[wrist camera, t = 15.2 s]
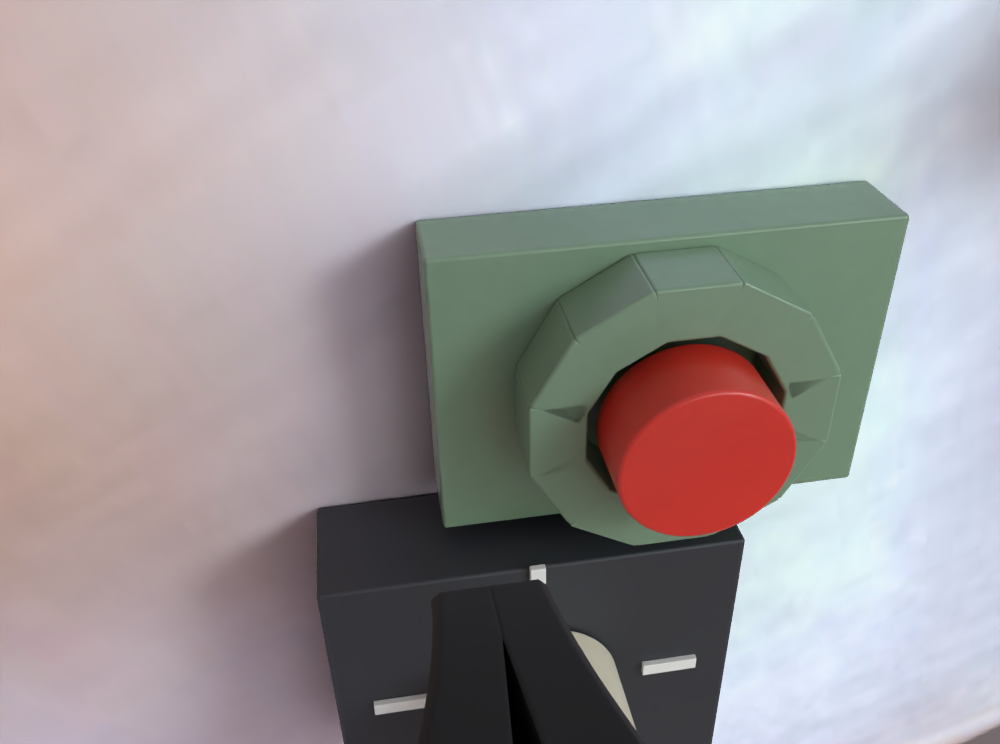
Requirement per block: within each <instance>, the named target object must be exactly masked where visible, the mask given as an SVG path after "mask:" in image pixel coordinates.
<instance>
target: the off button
mask: <svg viewBox="0 0 1000 744" xmlns="http://www.w3.org/2000/svg"><path fill="white" fill-rule="evenodd" d="M596 429H597V440H598V445H599V448H600V451H601V453H602V456H603V458H604V461H605V463H606V466H607V468H608V471H609V473H610V476H611V478H612V481H613V483H614V486H615V488H616V491H617V493H618V496H619V498H620V501H621V503H622V505H623V507H624V508H625V510H626V511H627V512H628V514H629V515H630V516H631V517H632V518H633V519H635V520H636V521H637V522H638V523H640V524H641V525H643V526H645V527H646V528H648V529H650V530H653V531H655V532H658V533H662V534H666V535H671V536H687V537H689V536H700V535H706V534H711V533H714V532H718V531H722V530H724V529H727V528H729V527H732V526H734V525H736V524H738V523H740V522H742V521H744V520H746V519H747V518H749V517H751V516H752V515H754V514H755V513H757V512H758V511H759V510H761V509H762V508H763V507H764V506H765V505H766V504H768V503H769V502H770V501H771V500H772V499H773V498H774V496H775V495H776V494H777V493H778V492H779V491H780V489H781V488H782V486H783V485H784V483H785V482H786V480H787V478H788V477H789V475H790V472H791V470H792V467H793V464H794V460H795V456H796V435H795V431H794V427H793V425H792V422H791V420H790V418H789V417H788V415H787V414H786V412H785V411H784V410H783V408H782V407H781V405H780V404H779V402H778V401H777V399H776V398H775V397H774V395H773V394H772V392H771V391H770V389H769V388H768V386H767V385H766V384H765V382H764V381H763V379H762V378H761V376H760V375H759V373H758V372H757V371H756V369H755V368H754V366H753V365H752V364H751V363H750V362H749V361H748V360H746V359H745V358H744V357H742V356H741V355H739V354H738V353H736V352H734V351H732V350H729V349H726V348H723V347H720V346H715V345H710V344H686V345H680V346H675V347H671V348H668V349H664V350H662V351H659V352H657V353H654V354H652V355H650V356H648V357H646V358H644V359H643V360H641V361H640V362H638V363H637V364H635V365H634V366H632V367H631V368H630V369H629V370H628V371H626V372H625V373H624V374H623V375H622V376H621V377H620V378H619V379H618V380H617V381H616V383H615V384H614V385H613V386H612V388H611V389H610V390H609V392H608V394H607V396H606V397H605V399H604V401H603V404H602V406H601V408H600V412H599V416H598V420H597V428H596Z"/></svg>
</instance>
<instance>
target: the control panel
mask: <svg viewBox="0 0 1000 744" xmlns="http://www.w3.org/2000/svg"><path fill="white" fill-rule="evenodd" d="M744 541H745V540H744V538H743V536H742V534H741V532H740V530H739V528H738V526H737V525H734V526H732V527H729V528H727V529H724V530H722V531H719V532H717V533H715V534H713V535H709V536H706V537H698V538H691V539H683V540H676V541H668V542H661V543H653V544H645V545H635V546H633V545H630V544H626V543H623V542H620V541H617V540H614V539H610V538H607V537H604V536H601V535H598V534H594V533H591V532H588V531H585V530H581V529H578V528H575V527H572V526H571V525H570V523H568V522H567V521H566V520H565V519H564V517H563V516H562V515H561V514H552V515H544V516H536V517H528V518H520V519H512V520H505V521H497V522H489V523H481V524H473V525H465V526H457V527H449V528H446V527H444V525H443V521H442V515H441V509H440V502H439V496H438V494H436V495H428V496H419V497H411V498H403V499H395V500H387V501H379V502H370V503H362V504H354V505H346V506H338V507H330V508H321V509H318V511H317V602H318V607H319V612H320V618H321V623H322V628H323V634H324V639H325V644H326V650H327V655H328V660H329V666H330V671H331V676H332V682H333V687H334V692H335V698H336V703H337V709H338V714H339V719H340V725H341V730H342V735H343V741H344V744H418V741H419V735H420V730H421V724H422V718H423V713H424V707H425V702H426V696H427V688H428V680H429V672H430V664H431V652H432V608H431V600H432V599H433V598H434V597H435V596H436V595H438V594H439V593H440V592H447V591H455V590H462V589H470V588H477V587H484V586H492V585H499V584H507V583H514V582H522V581H529V580H536V579H539V580H540V581H542V582H543V583H545V584H546V585H547V586H548V588H549V590H550V592H551V594H552V597H553V599H554V601H555V603H556V605H557V606H558V608H559V610H560V612H561V614H562V616H563V618H564V620H565V621H566V623H567V625H568V627H569V629H570V630H571V631H574V632H578V633H582V634H585V635H587V636H589V637H592V638H593V639H595V640H597V641H598V642H600V643H601V644H602V645H603V646H604V647H605V648H606V649H607V650H608V651H609V653H610V654H611V656H612V658H613V659H614V662H615V665H616V668H617V672H618V675H619V678H620V681H621V684H622V687H623V690H624V693H625V697H626V700H627V703H628V706H629V709H630V712H631V715H632V718H633V721H634V725H635V728H636V731H637V732H638V734H639V735H640V736H641V738H642V739H643V740H644V742H645V743H646V744H711V743H712V737H713V731H714V725H715V719H716V713H717V707H718V701H719V694H720V688H721V682H722V676H723V670H724V664H725V658H726V652H727V646H728V640H729V633H730V627H731V621H732V615H733V609H734V603H735V597H736V591H737V585H738V578H739V572H740V566H741V560H742V554H743V548H744Z"/></svg>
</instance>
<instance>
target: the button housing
mask: <svg viewBox="0 0 1000 744" xmlns="http://www.w3.org/2000/svg"><path fill="white" fill-rule="evenodd" d="M908 220H909V216H908V214H907V213H906V212H904V211H903V210H902V209H901V208H899V207H898V206H897V205H896V204H895V203H893V202H892V201H891V200H890V199H888V198H887V197H886V196H885V195H883V194H882V193H881V192H880V191H878V190H877V189H876V188H875V187H874V186H872V185H871V184H870V183H869V182H866V181H861V182H849V183H838V184H827V185H815V186H804V187H793V188H781V189H770V190H759V191H748V192H736V193H725V194H714V195H702V196H691V197H680V198H668V199H657V200H646V201H634V202H623V203H612V204H600V205H589V206H578V207H566V208H555V209H544V210H532V211H521V212H510V213H498V214H487V215H476V216H464V217H453V218H442V219H430V220H419V221H417V222H416V225H415V226H416V238H417V251H418V263H419V276H420V289H421V301H422V314H423V326H424V339H425V352H426V364H427V377H428V389H429V402H430V414H431V427H432V440H433V452H434V465H435V477H436V484H437V490H438V496H439V502H440V509H441V515H442V521H443V525H444V527H446V528H449V527H457V526H465V525H473V524H481V523H489V522H497V521H505V520H512V519H520V518H528V517H536V516H544V515H552V514H561V515H562V516H563V517H564V519H565V520H566V521H567V522H568V523H570V525H571V526H572V527H575V528H578V529H581V530H585V531H588V532H591V533H594V534H598V535H601V536H604V537H607V538H610V539H614V540H617V541H620V542H623V543H626V544H630V545H633V546H635V545H645V544H653V543H661V542H668V541H676V540H683V539H691V538H698V537H706V536H709V535H713V534H715V533H717V532H714V533H711V534H706V535H700V536H689V537H687V536H671V535H666V534H662V533H658V532H655V531H653V530H650V529H648V528H646V527H645V526H643V525H641V524H640V523H638V522H637V521H636V520H635V519H633V518H632V517H631V516H630V515H629V514H628V512H627V511H626V510H625V508H624V507H623V505H622V503H621V501H620V498H619V496H618V493H617V491H616V488H615V486H614V483H613V481H612V478H611V476H610V473H609V471H608V468H607V466H606V463H605V461H604V458H603V456H602V453H601V451H600V448H599V445H598V440H597V429H596V428H597V420H598V416H599V412H600V408H601V406H602V404H603V401H604V399H605V397H606V396H607V394H608V392H609V390H610V389H611V388H612V386H613V385H614V384H615V383H616V381H617V380H618V379H619V378H620V377H621V376H622V375H623V374H624V373H625V372H626V371H628V370H629V369H630V368H631V367H632V366H634V365H635V364H637V363H638V362H640V361H641V360H643V359H644V358H646V357H648V356H650V355H652V354H654V353H657V352H659V351H662V350H664V349H668V348H671V347H675V346H680V345H686V344H710V345H715V346H720V347H723V348H726V349H729V350H732V351H734V352H736V353H738V354H739V355H741V356H742V357H744V358H745V359H746V360H748V361H749V362H750V363H751V364H752V365H753V366H754V368H755V369H756V371H757V372H758V373H759V375H760V376H761V378H762V379H763V381H764V382H765V384H766V385H767V386H768V388H769V389H770V391H771V392H772V394H773V395H774V397H775V398H776V399H777V401H778V402H779V404H780V405H781V407H782V408H783V410H784V411H785V412H786V414H787V415H788V417H789V418H790V420H791V422H792V425H793V427H794V431H795V435H796V456H795V460H794V464H793V467H792V470H791V472H790V475H789V477H788V478H787V480H786V482H785V483H784V485H783V486H782V488H781V489H780V491H779V492H778V493H777V494H776V495H775V496H774V498H773V499H772V500H771V501H770V502H769V503H768V504H766V505H765V506H767V505H769V504H771V503H773V502H774V501H776V500H778V498H780V497H781V496H782V495H783V494H784V493H785V491H786V490H787V489H788V488H789V487H790V485H791V484H796V483H804V482H812V481H820V480H828V479H836V478H844V477H847V476H848V475H849V471H850V467H851V463H852V459H853V454H854V450H855V446H856V442H857V437H858V433H859V429H860V425H861V420H862V416H863V412H864V407H865V403H866V399H867V395H868V390H869V386H870V382H871V378H872V373H873V369H874V365H875V361H876V356H877V352H878V348H879V344H880V339H881V335H882V331H883V326H884V322H885V318H886V314H887V309H888V305H889V301H890V297H891V292H892V288H893V284H894V280H895V275H896V271H897V267H898V263H899V258H900V254H901V250H902V245H903V241H904V237H905V233H906V228H907V224H908ZM765 506H764V507H765ZM718 532H719V531H718Z"/></svg>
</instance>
